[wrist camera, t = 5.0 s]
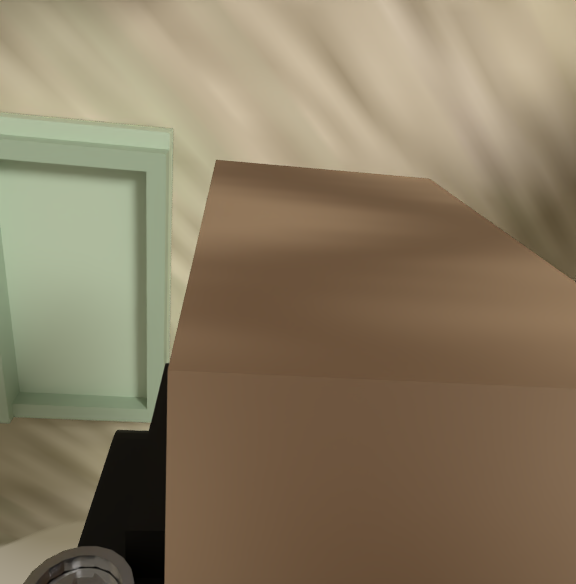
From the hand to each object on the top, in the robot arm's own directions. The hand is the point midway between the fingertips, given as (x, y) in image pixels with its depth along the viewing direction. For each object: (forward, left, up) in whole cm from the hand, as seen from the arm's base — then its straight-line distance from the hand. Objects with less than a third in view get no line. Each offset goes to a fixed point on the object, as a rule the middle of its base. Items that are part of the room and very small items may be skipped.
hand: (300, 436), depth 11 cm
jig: (+12, +4, -16) cm, 21 cm away
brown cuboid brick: (0, 0, -1) cm, 1 cm away
